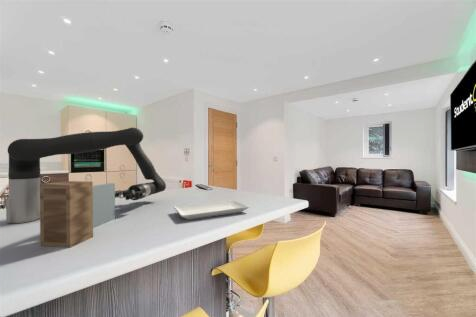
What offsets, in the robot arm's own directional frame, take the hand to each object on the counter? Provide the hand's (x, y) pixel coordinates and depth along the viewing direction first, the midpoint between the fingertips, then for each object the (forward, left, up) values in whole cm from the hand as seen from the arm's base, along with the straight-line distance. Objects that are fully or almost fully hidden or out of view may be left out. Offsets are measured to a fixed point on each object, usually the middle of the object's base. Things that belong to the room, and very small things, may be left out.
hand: (117, 197), depth 93 cm
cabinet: (-12, -21, -8) cm, 26 cm away
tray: (+38, -13, -9) cm, 42 cm away
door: (-5, -8, -9) cm, 13 cm away
